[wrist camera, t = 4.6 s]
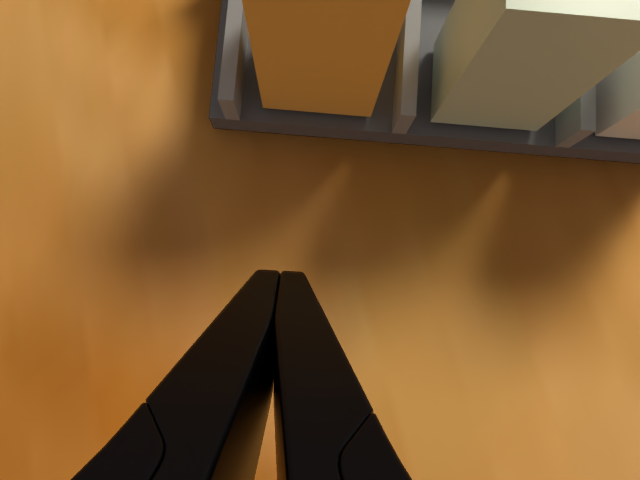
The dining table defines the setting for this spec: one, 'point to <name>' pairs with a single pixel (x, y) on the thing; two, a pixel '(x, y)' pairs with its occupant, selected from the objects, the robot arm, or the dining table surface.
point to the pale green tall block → (526, 58)
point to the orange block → (323, 52)
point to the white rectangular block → (619, 101)
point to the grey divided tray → (398, 101)
